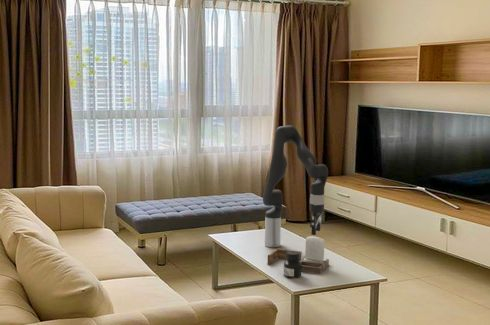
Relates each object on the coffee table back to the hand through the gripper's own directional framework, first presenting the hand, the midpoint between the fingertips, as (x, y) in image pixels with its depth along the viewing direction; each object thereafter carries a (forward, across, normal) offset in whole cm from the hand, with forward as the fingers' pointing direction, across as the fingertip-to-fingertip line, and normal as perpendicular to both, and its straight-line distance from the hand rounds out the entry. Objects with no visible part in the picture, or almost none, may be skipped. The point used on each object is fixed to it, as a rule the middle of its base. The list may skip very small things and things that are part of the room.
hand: (315, 232), depth 312 cm
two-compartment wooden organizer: (+18, +4, 0) cm, 18 cm away
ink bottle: (+18, +21, -5) cm, 28 cm away
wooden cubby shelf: (+18, +2, -16) cm, 24 cm away
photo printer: (+15, 0, 0) cm, 15 cm away
